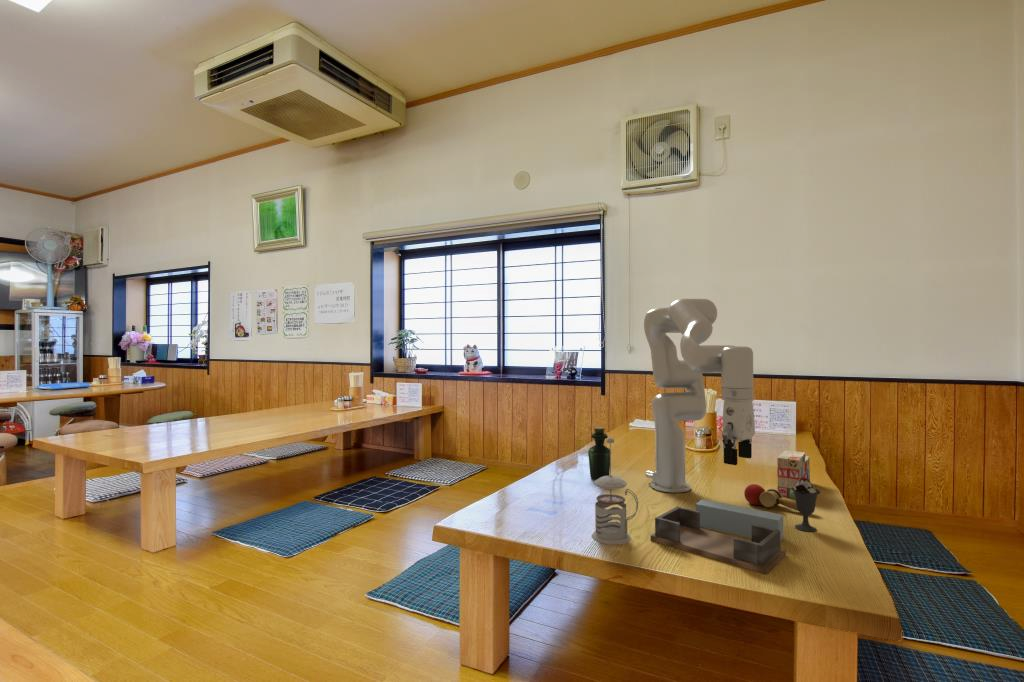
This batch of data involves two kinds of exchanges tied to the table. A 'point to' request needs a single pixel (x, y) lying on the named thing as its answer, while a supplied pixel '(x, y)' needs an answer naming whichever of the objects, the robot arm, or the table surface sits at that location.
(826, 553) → the table surface
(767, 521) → the grey rectangular block
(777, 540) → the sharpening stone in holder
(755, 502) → the kendama
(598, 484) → the french press
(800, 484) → the sundae
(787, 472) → the stack of blocks
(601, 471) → the potion bottle
